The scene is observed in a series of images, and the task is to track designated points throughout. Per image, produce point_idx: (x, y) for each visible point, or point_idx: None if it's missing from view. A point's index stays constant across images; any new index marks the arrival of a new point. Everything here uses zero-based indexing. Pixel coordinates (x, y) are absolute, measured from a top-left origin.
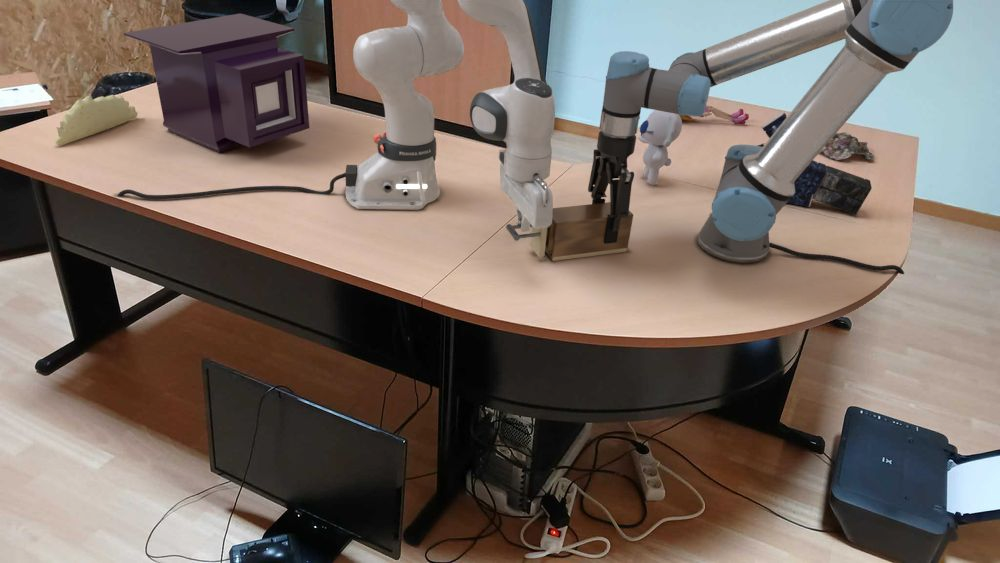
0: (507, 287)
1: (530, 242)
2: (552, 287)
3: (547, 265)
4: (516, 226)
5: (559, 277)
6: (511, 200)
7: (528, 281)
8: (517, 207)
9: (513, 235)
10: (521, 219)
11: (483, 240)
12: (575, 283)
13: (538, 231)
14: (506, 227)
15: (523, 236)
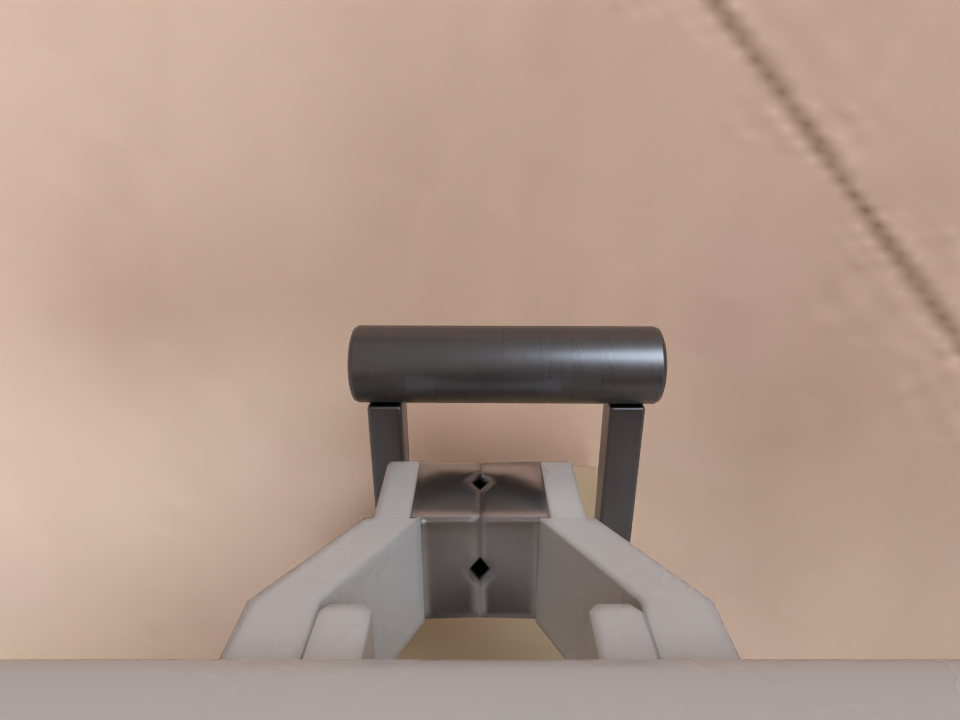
0: (49, 81)
1: (589, 483)
2: (56, 410)
3: (343, 481)
4: (608, 446)
5: (182, 495)
6: (862, 676)
7: (138, 282)
8: (428, 681)
9: (393, 337)
10: (518, 553)
11: (859, 143)
12: (106, 553)
13: None
14: (637, 330)
15: (371, 439)
